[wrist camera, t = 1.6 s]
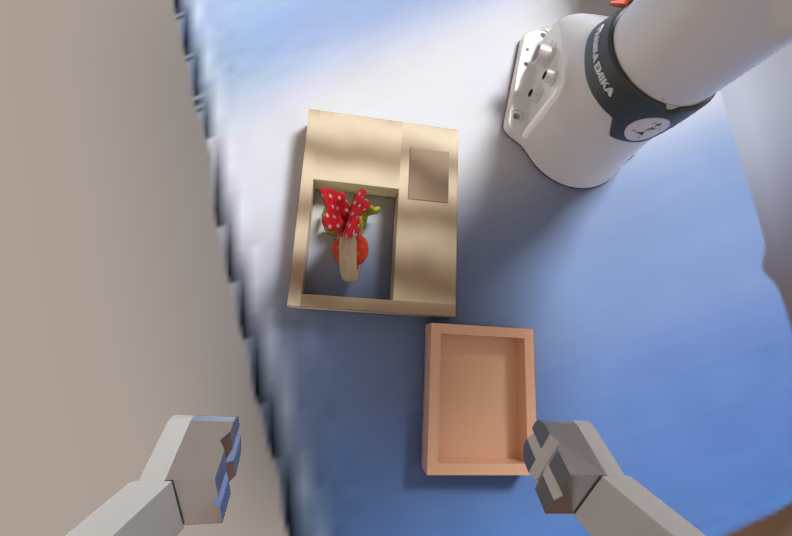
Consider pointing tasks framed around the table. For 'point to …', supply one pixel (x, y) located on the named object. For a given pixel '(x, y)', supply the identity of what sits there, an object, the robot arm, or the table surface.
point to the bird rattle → (347, 229)
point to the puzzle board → (414, 207)
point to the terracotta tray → (477, 399)
